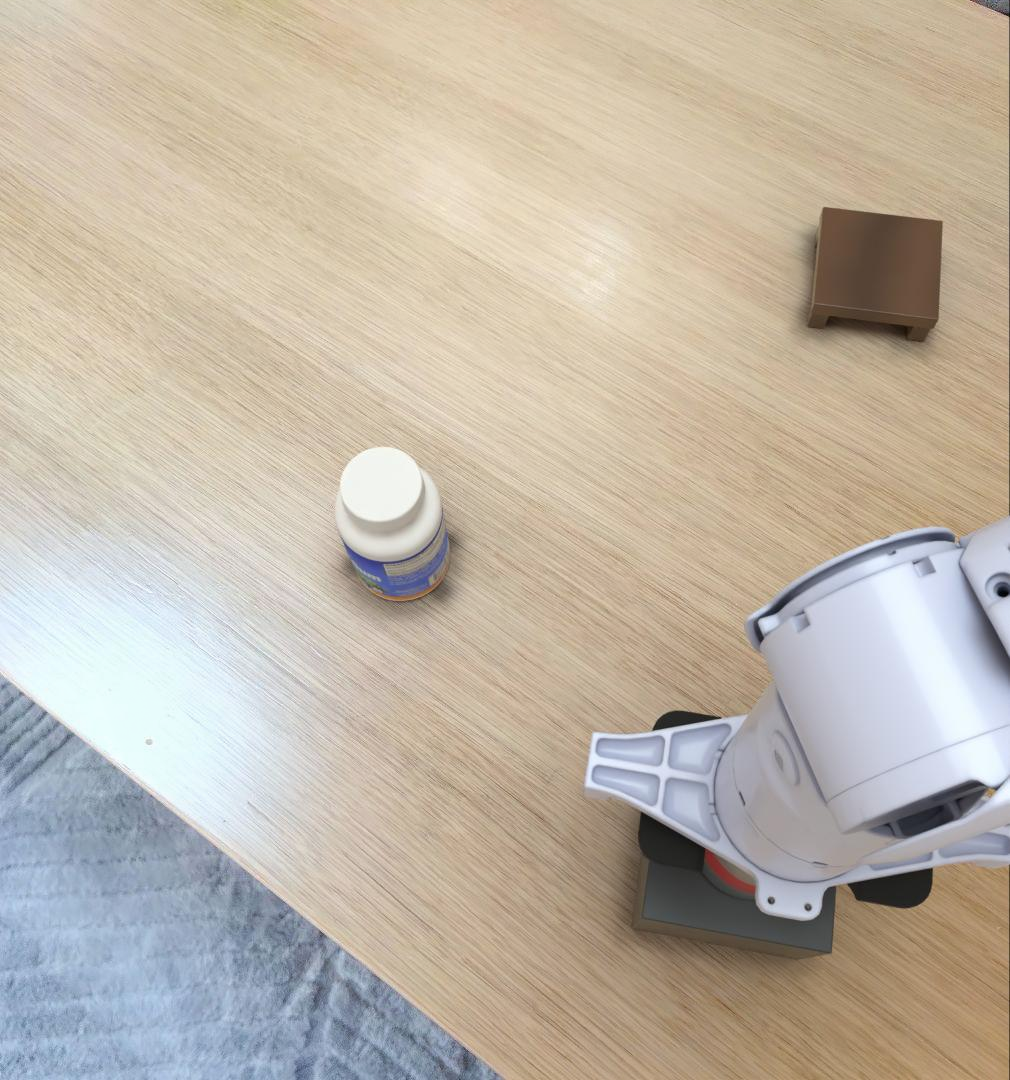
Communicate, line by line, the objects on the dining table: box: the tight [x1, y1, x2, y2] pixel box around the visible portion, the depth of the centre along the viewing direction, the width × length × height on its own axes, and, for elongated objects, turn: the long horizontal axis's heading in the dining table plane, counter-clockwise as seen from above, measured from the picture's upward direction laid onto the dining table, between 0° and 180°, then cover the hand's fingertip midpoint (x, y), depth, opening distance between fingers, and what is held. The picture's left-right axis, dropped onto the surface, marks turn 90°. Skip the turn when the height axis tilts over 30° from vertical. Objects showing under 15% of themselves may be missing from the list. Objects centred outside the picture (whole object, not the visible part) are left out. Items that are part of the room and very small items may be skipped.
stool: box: [806, 206, 944, 343], centre depth 66 cm, size 7×7×2 cm
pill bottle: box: [333, 446, 451, 602], centre depth 58 cm, size 5×5×10 cm
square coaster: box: [630, 851, 837, 961], centre depth 52 cm, size 8×8×7 cm
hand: (754, 832), depth 47 cm, fingers closed on can, 5 cm apart
